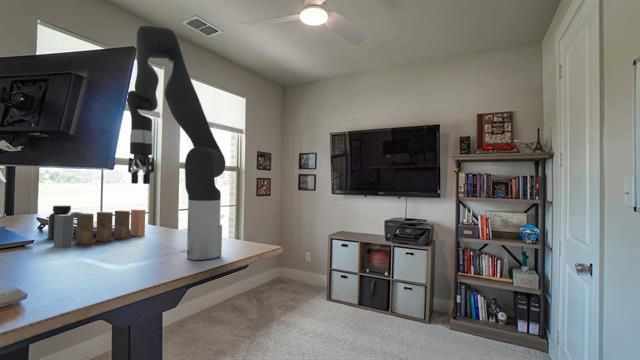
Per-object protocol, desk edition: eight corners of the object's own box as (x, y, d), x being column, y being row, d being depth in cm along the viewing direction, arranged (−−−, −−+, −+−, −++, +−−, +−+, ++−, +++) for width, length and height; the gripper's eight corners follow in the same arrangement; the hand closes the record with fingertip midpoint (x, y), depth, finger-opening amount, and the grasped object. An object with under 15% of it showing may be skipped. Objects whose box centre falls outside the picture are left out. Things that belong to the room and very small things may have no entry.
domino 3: (120, 236, 111) (121, 210, 111) (129, 237, 109) (129, 211, 109) (114, 237, 109) (114, 210, 109) (122, 239, 107) (123, 211, 107)
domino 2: (103, 239, 106) (104, 211, 106) (111, 240, 104) (112, 212, 104) (96, 240, 104) (96, 212, 104) (104, 241, 101) (105, 212, 102)
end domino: (63, 245, 95) (63, 214, 95) (71, 247, 93) (72, 215, 93) (53, 246, 93) (54, 215, 93) (62, 248, 91) (63, 216, 91)
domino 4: (136, 234, 116) (137, 209, 117) (144, 235, 114) (145, 209, 115) (130, 235, 114) (131, 209, 114) (138, 236, 112) (139, 210, 112)
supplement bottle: (62, 241, 101) (63, 206, 101) (41, 241, 100) (42, 206, 101) (78, 238, 107) (79, 205, 108) (59, 237, 107) (60, 204, 107)
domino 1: (84, 242, 100) (85, 212, 100) (92, 243, 98) (93, 213, 98) (76, 243, 98) (77, 213, 98) (84, 245, 96) (85, 214, 96)
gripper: (121, 142, 116) (120, 183, 116) (141, 140, 109) (140, 184, 108) (141, 144, 122) (140, 183, 122) (161, 142, 115) (160, 184, 115)
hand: (140, 183), depth 115 cm, fingers open, 8 cm apart
